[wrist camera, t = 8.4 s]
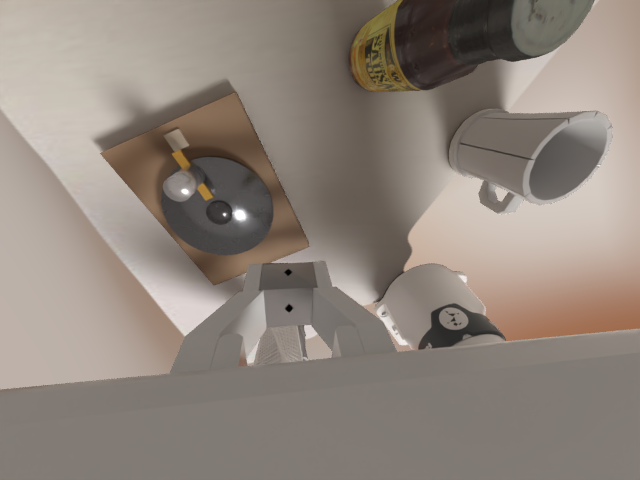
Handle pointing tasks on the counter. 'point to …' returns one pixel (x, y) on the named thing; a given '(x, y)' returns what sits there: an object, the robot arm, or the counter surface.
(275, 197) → the stand
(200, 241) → the dial
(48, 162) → the counter surface
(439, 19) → the sauce bottle
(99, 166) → the counter surface
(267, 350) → the skyscraper
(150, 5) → the counter surface
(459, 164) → the cup
